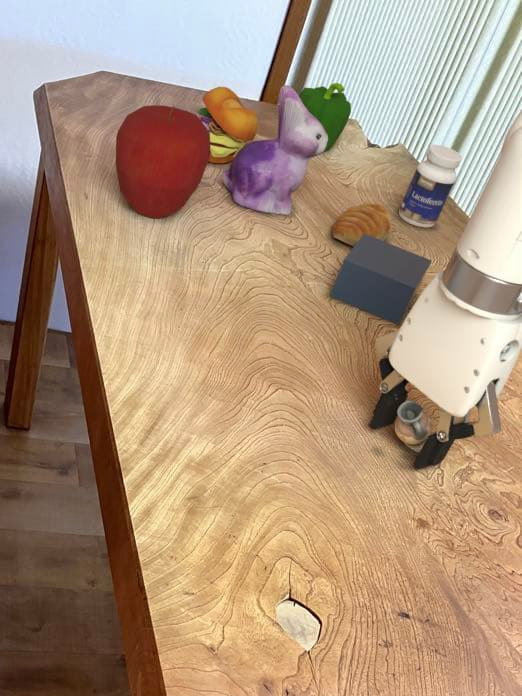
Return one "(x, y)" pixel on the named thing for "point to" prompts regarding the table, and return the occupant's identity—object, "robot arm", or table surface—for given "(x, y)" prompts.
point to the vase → (412, 425)
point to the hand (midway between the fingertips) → (403, 443)
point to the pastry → (363, 223)
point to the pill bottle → (430, 187)
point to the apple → (160, 158)
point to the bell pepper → (328, 109)
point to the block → (380, 278)
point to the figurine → (277, 159)
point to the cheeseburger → (226, 124)
